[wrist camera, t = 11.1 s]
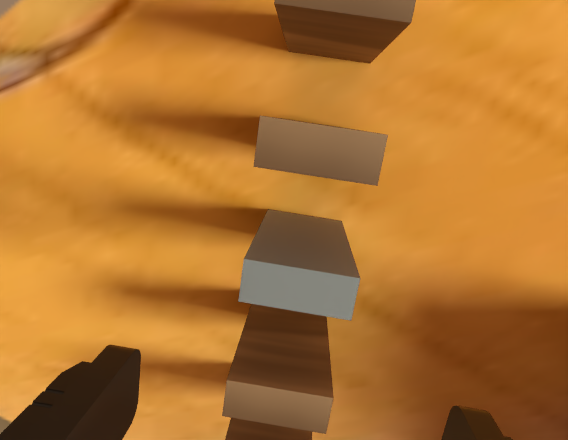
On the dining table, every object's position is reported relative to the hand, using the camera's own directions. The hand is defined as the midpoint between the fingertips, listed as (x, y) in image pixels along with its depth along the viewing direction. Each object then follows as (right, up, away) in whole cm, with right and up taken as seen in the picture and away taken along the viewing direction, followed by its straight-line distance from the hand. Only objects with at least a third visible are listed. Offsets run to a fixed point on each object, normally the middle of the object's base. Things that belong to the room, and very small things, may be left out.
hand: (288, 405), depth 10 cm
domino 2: (+2, +10, +15) cm, 18 cm away
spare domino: (+1, +4, +17) cm, 17 cm away
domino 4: (0, -2, +18) cm, 18 cm away
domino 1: (+3, +16, +14) cm, 21 cm away
